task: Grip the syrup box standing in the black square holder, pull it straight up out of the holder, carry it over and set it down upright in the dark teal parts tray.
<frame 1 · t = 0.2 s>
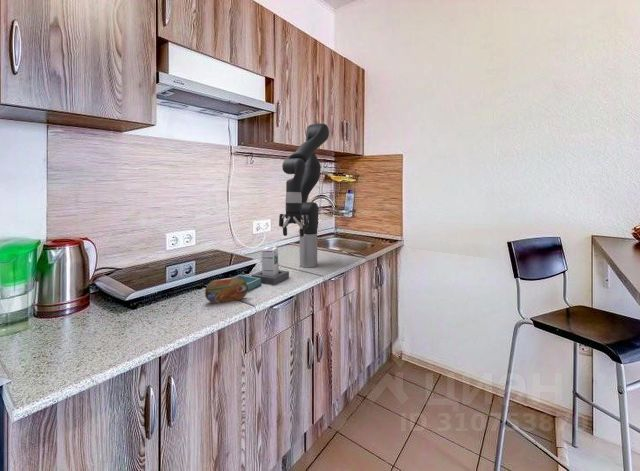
hand: (293, 236, 148), 18 cm above the countertop, tool pointing down, fingers open, 8 cm apart
parts tray: (241, 287, 130), on the countertop
tin: (227, 301, 115), on the countertop
syrup box: (270, 280, 140), resting in holder
holder: (270, 279, 140), on the countertop
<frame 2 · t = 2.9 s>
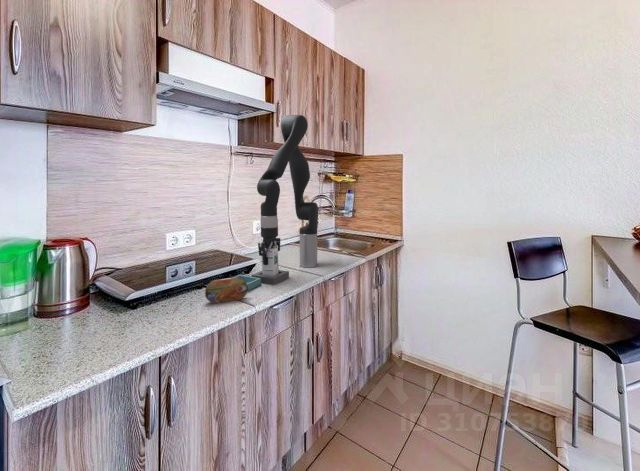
hand: (270, 262, 139), 8 cm above the countertop, tool pointing down, fingers closed on syrup box, 6 cm apart
syrup box: (270, 280, 140), resting in holder, touching gripper
everything else where it was.
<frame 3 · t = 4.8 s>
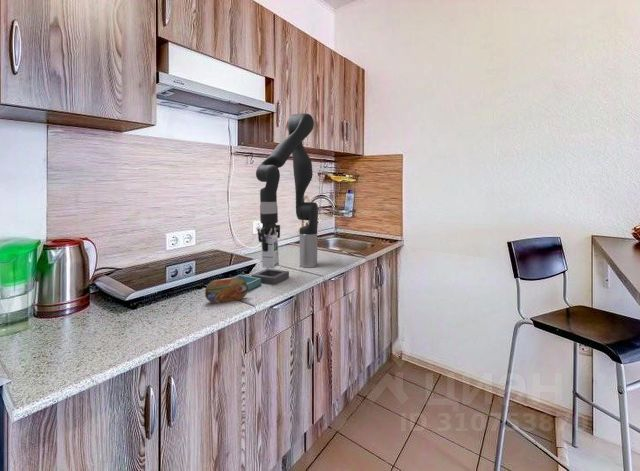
hand: (270, 249, 138), 14 cm above the countertop, tool pointing down, fingers closed on syrup box, 6 cm apart
syrup box: (270, 266, 139), point 6 cm above the countertop, touching gripper
everything else where it was.
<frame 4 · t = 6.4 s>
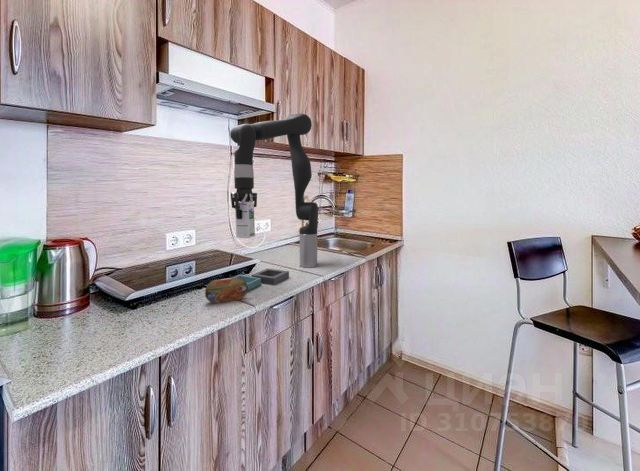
hand: (245, 218, 126), 29 cm above the countertop, tool pointing down, fingers closed on syrup box, 6 cm apart
syrup box: (245, 237, 128), point 21 cm above the countertop, touching gripper
everything else where it was.
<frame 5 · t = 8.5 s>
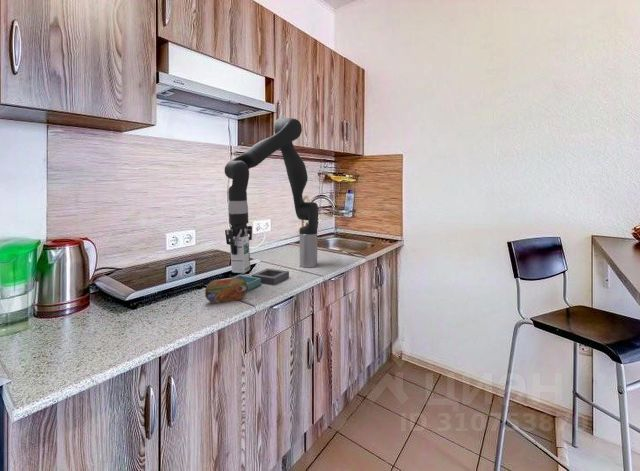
hand: (240, 252, 127), 15 cm above the countertop, tool pointing down, fingers closed on syrup box, 6 cm apart
syrup box: (241, 271, 128), point 7 cm above the countertop, touching gripper
everything else where it was.
when the fingers open (10 cm above the countertop, at t = 10.1 s): syrup box drops 1 cm, resting on parts tray.
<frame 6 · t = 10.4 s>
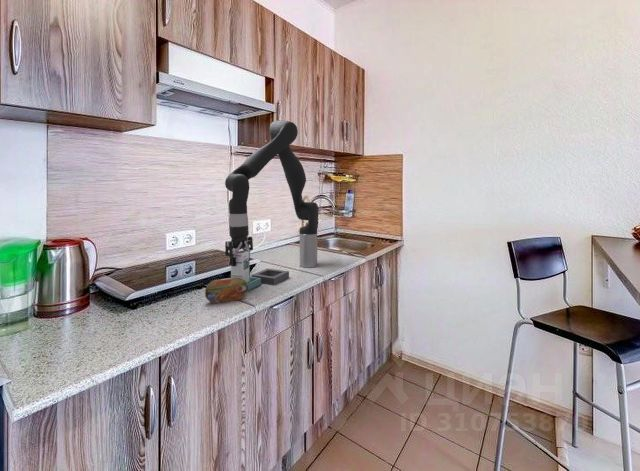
hand: (240, 263, 128), 10 cm above the countertop, tool pointing down, fingers open, 8 cm apart
syrup box: (241, 286, 129), resting on parts tray
everything else where it was.
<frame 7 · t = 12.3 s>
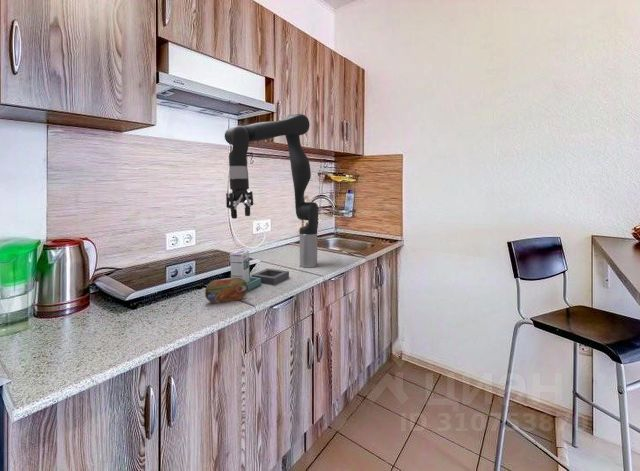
hand: (241, 217, 130), 29 cm above the countertop, tool pointing down, fingers open, 8 cm apart
nothing on the countertop moved.
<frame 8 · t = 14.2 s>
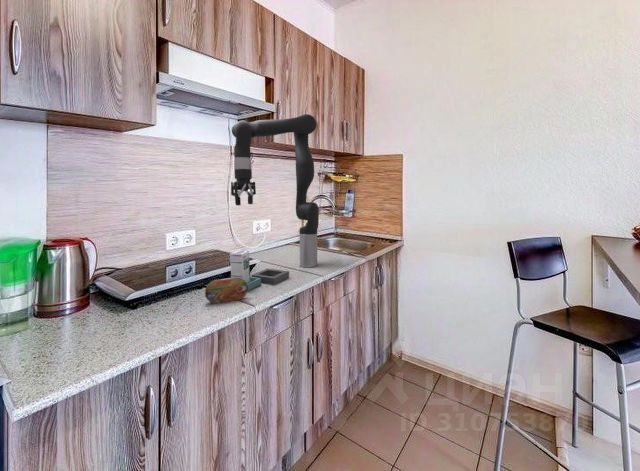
hand: (244, 204, 141), 33 cm above the countertop, tool pointing down, fingers open, 8 cm apart
nothing on the countertop moved.
at the end: syrup box inside the target area on the parts tray (0.1 cm from its centre), point 0.4 cm above the parts tray's base; syrup box tilted 0°; the gripper is holding nothing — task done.
